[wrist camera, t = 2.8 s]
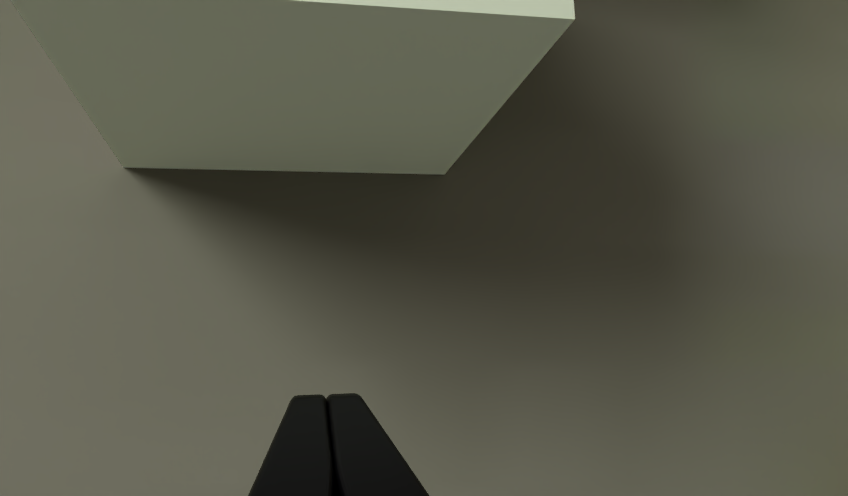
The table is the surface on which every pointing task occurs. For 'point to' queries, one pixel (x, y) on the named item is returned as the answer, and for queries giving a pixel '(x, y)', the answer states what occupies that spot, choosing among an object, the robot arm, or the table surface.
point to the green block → (294, 77)
